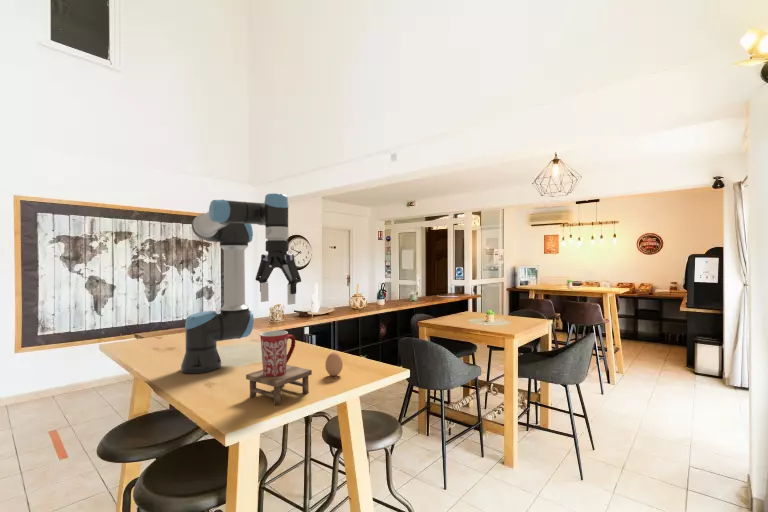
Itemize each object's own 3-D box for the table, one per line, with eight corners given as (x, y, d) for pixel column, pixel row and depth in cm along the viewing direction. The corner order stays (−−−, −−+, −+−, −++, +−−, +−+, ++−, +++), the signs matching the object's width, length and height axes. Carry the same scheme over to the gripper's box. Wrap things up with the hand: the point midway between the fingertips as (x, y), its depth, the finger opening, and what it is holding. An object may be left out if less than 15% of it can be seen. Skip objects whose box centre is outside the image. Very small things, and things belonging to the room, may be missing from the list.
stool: (246, 397, 124) (246, 374, 124) (282, 384, 137) (281, 363, 137) (276, 407, 116) (276, 382, 116) (311, 392, 128) (311, 370, 128)
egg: (346, 375, 146) (346, 352, 146) (332, 379, 141) (332, 355, 141) (335, 372, 151) (335, 349, 151) (322, 375, 146) (321, 352, 146)
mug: (269, 379, 119) (269, 336, 119) (255, 374, 125) (254, 333, 125) (303, 370, 128) (302, 330, 128) (287, 365, 134) (287, 327, 134)
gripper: (244, 240, 132) (245, 301, 132) (294, 238, 118) (294, 306, 118) (262, 241, 138) (263, 299, 138) (311, 239, 124) (312, 303, 124)
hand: (277, 302), depth 128 cm, fingers open, 13 cm apart
